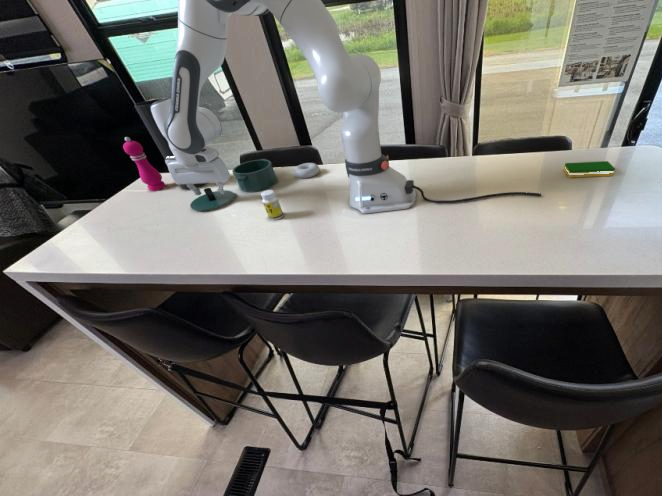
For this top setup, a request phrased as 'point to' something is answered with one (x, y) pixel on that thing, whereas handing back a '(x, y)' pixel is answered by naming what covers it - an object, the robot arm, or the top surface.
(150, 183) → the pepper mill
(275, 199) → the supplement bottle
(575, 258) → the top surface
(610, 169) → the dish sponge
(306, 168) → the donut
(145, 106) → the vase
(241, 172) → the pot
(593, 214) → the top surface
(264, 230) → the top surface
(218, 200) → the lid
